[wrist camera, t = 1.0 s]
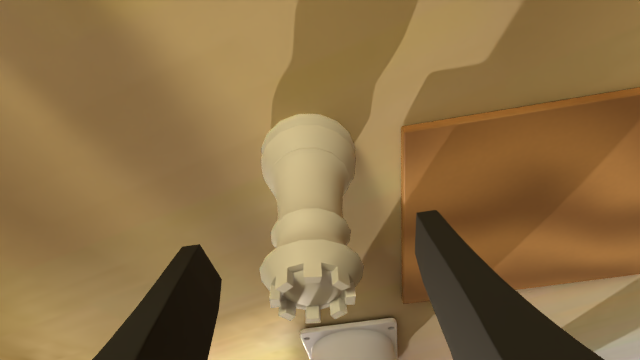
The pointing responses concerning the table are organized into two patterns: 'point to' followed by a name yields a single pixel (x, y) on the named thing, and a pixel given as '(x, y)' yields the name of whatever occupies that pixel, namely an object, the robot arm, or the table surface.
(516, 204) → the brown wooden board
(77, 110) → the table surface
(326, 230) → the rook chess piece
